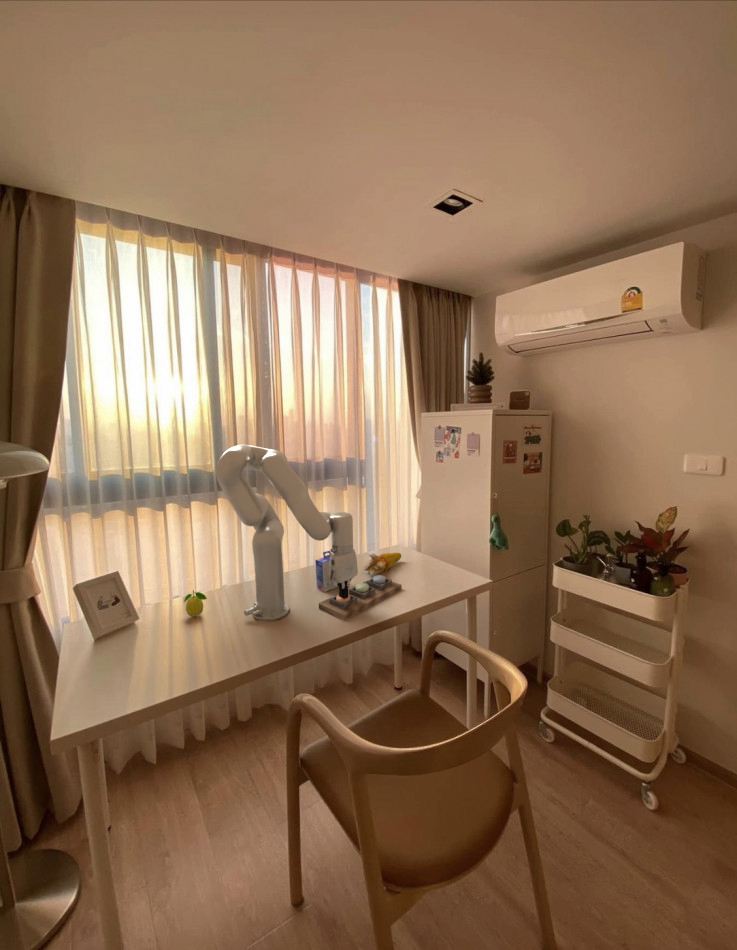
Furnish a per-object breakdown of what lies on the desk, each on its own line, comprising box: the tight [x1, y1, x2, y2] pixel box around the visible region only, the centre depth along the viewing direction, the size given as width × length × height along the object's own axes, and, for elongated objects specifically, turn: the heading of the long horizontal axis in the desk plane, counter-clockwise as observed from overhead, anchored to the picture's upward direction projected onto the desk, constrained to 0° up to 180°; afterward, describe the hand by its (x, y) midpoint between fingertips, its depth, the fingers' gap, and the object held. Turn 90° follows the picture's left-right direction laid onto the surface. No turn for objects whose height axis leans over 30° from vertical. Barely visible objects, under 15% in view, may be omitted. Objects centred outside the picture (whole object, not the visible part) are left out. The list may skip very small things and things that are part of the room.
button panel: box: [318, 577, 403, 621], centre depth 153 cm, size 32×13×4 cm, turn 138°
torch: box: [362, 552, 402, 579], centre depth 181 cm, size 8×8×25 cm
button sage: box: [355, 582, 369, 594], centre depth 153 cm, size 5×5×2 cm
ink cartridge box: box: [314, 550, 339, 593], centre depth 163 cm, size 10×6×14 cm, turn 133°
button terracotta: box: [336, 594, 350, 603], centre depth 146 cm, size 5×5×2 cm
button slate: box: [373, 574, 387, 585], centre depth 160 cm, size 5×5×2 cm
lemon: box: [183, 589, 207, 618], centre depth 140 cm, size 7×6×10 cm
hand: (343, 596), depth 146 cm, fingers closed
